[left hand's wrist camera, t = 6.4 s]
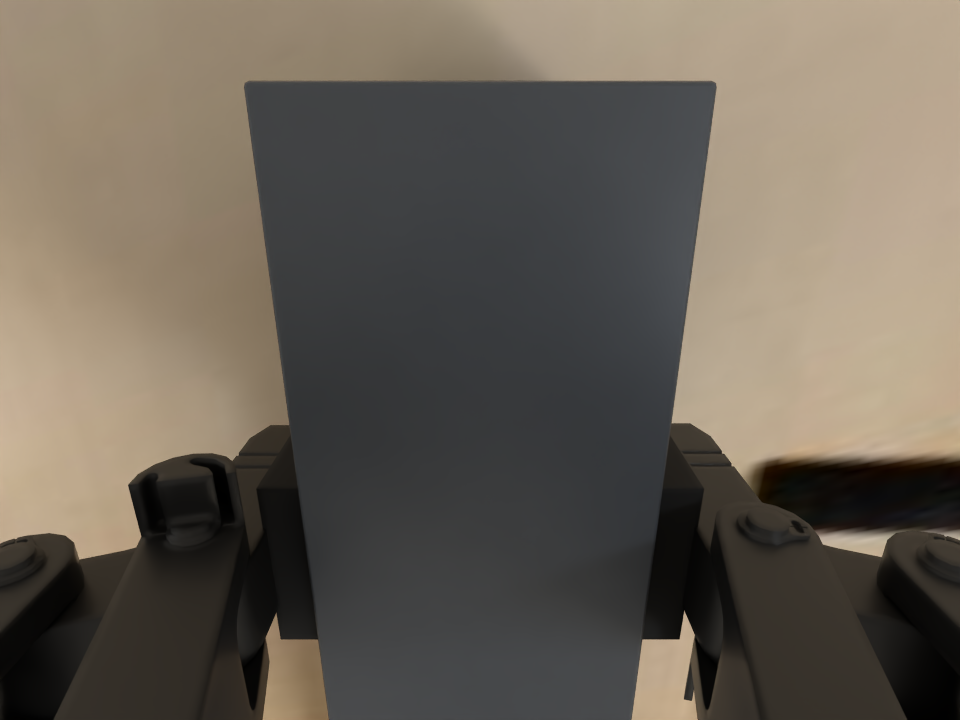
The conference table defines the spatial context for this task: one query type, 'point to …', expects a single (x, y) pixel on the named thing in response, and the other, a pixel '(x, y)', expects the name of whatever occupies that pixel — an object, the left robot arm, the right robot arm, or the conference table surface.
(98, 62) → the conference table surface
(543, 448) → the beam
